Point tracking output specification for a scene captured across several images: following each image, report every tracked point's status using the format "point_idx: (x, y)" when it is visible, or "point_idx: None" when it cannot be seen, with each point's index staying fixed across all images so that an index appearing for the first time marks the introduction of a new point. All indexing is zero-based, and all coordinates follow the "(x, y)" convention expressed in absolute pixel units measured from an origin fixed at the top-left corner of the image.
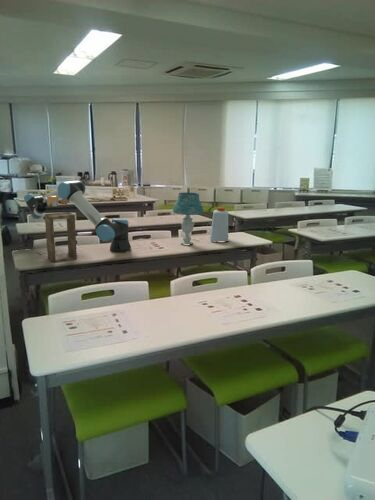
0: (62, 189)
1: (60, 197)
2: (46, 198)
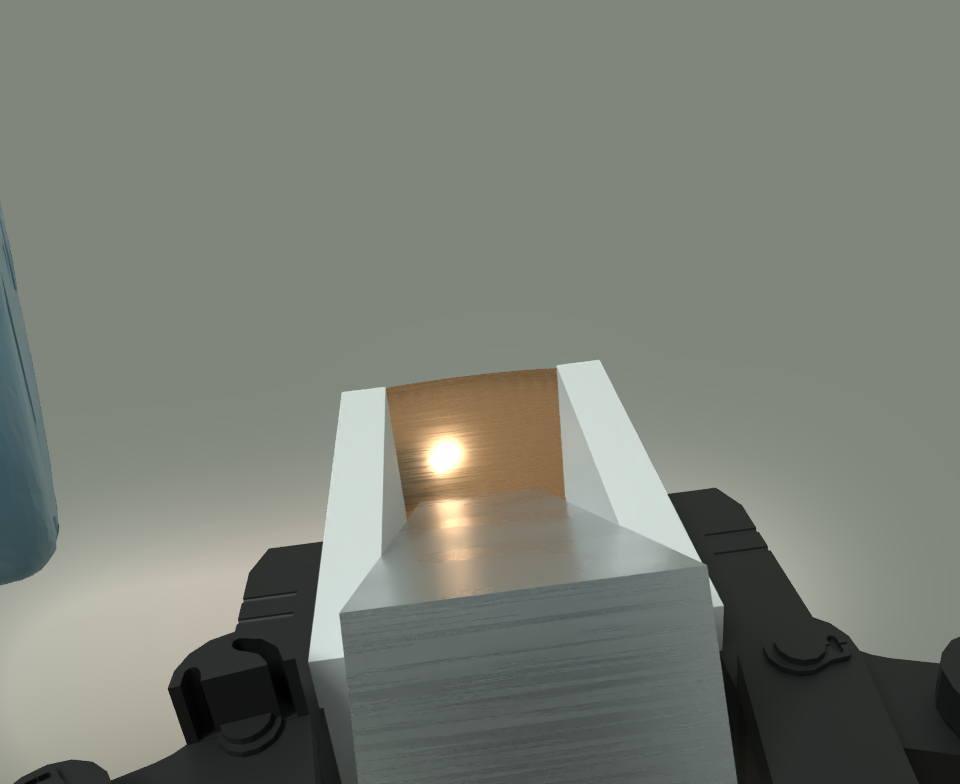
0: (5, 261)
1: (44, 536)
2: (530, 515)
